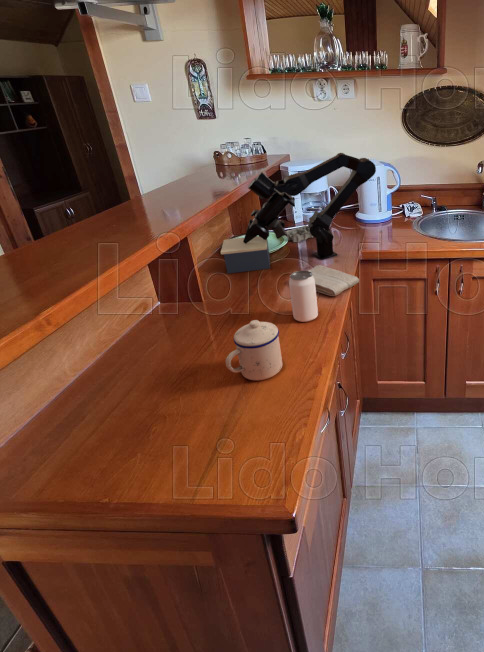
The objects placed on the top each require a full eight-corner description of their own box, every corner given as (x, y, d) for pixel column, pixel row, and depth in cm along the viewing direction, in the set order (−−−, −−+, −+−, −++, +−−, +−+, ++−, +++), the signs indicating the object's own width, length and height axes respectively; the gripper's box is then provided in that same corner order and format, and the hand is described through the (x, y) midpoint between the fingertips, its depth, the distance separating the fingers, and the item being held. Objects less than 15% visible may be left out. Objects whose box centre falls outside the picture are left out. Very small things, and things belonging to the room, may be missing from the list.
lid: (220, 254, 135) (220, 252, 134) (224, 241, 146) (224, 239, 145) (267, 249, 138) (266, 247, 137) (267, 237, 149) (266, 235, 149)
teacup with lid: (267, 351, 96) (260, 306, 92) (292, 366, 91) (285, 320, 86) (219, 377, 88) (208, 329, 83) (243, 395, 83) (233, 346, 78)
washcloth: (318, 270, 138) (317, 262, 136) (361, 283, 128) (360, 274, 127) (291, 284, 129) (290, 274, 128) (335, 298, 119) (334, 289, 118)
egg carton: (295, 243, 162) (293, 233, 161) (284, 239, 167) (283, 229, 166) (317, 236, 169) (316, 227, 167) (306, 232, 174) (305, 223, 172)
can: (294, 324, 107) (289, 282, 102) (292, 312, 113) (287, 271, 108) (319, 320, 108) (315, 278, 104) (316, 308, 114) (312, 268, 109)
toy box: (227, 273, 138) (223, 254, 135) (230, 259, 149) (226, 241, 146) (269, 268, 140) (267, 249, 138) (269, 255, 152) (267, 237, 149)
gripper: (294, 230, 134) (264, 266, 137) (291, 215, 151) (264, 247, 153) (265, 209, 129) (234, 246, 132) (266, 195, 146) (238, 228, 148)
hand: (244, 242), depth 141 cm, fingers closed
